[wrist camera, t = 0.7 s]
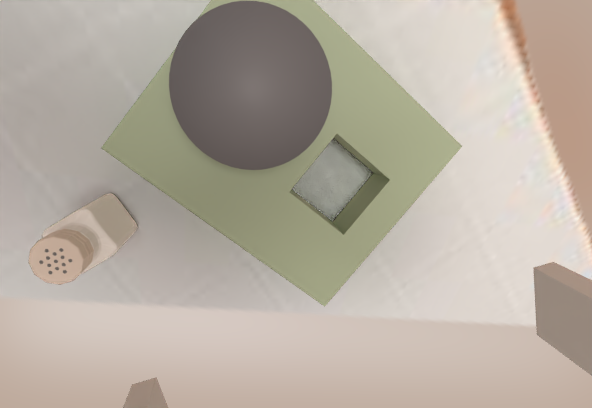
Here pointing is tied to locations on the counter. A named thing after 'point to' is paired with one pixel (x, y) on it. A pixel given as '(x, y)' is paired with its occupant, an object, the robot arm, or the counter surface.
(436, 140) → the green knob base
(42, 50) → the counter surface
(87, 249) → the pepper shaker
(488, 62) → the counter surface
